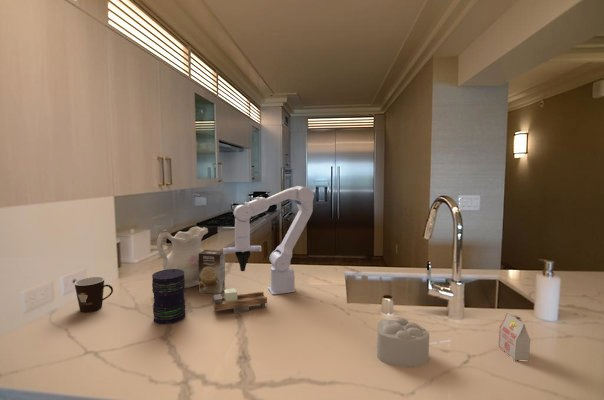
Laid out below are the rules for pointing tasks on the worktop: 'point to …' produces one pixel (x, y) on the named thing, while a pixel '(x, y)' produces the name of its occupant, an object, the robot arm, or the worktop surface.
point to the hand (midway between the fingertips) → (242, 270)
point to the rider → (230, 295)
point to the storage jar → (168, 296)
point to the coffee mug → (90, 293)
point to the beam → (240, 302)
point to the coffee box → (211, 271)
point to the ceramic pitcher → (183, 253)
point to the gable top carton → (514, 338)
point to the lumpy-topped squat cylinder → (402, 343)
